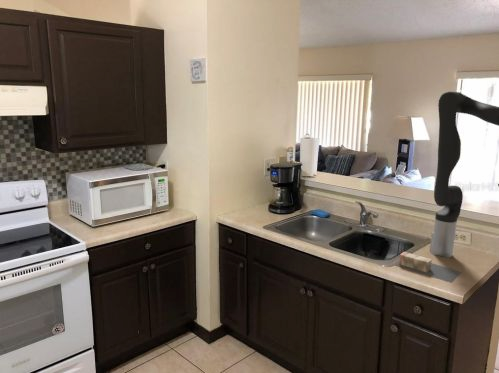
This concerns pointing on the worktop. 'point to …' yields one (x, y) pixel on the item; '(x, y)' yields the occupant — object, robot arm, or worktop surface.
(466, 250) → the worktop surface
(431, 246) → the robot arm
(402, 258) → the birch block
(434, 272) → the rubber mat
